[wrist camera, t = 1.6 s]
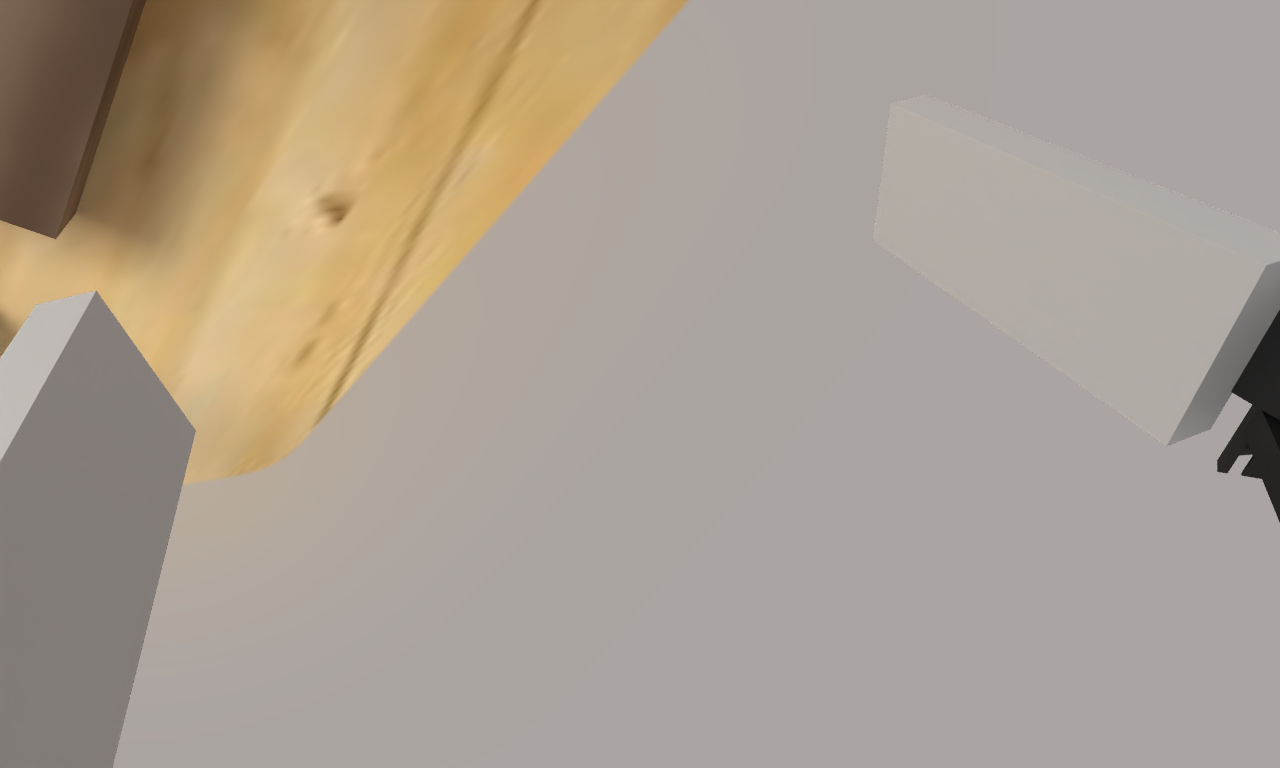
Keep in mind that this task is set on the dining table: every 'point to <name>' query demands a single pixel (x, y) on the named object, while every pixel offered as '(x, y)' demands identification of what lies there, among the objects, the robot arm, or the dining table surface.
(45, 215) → the plinth
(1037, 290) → the robot arm
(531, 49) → the dining table surface
